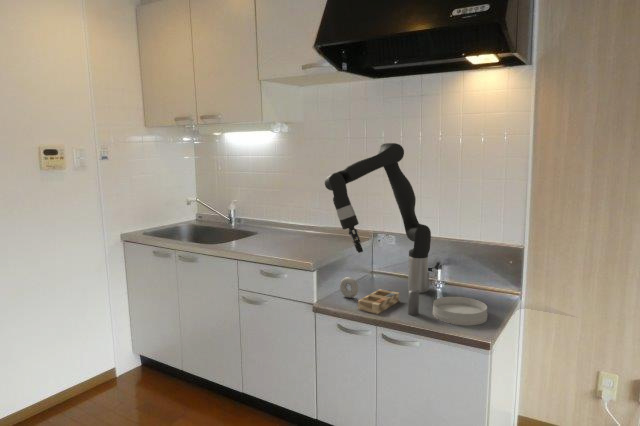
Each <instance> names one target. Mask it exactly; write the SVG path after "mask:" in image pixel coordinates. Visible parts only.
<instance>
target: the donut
mask: <svg viewBox="0 0 640 426" xmlns="http://www.w3.org/2000/svg"><path fill="white" fill-rule="evenodd" d="M348 285H349V286H350V290H349V289H348ZM339 289H340V292H341V294H342V296H344V297H346V298H349V299H353V298H354V297H356V296H357V295H358V292H359V284H358V282H357V281H356V279H354V278H353V277H351V276H346V277H344V278H342V279H341V281H340V284H339Z"/></svg>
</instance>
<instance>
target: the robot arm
mask: <svg viewBox="0 0 640 426" xmlns="http://www.w3.org/2000/svg"><path fill="white" fill-rule="evenodd" d="M404 156H405V150H404V147H403V146H402V145H401V144H400V143H394V142H393V143H392V142H389V143H388V142H387V143H382V144H381V145H380V146H379V149H378V153H377V154H375V155H373V156H371V157H367V158H364V159H361V160H358V161H356V162H354V163H351V164H350V165H348V166H346V167H345V168H343V169H342V170H339V171H337V172H333V173H331V174H329V175H328V176H327V177H326V178H325V180H324V186H325V189H327V190H328V191H332V195H333V197H332V202H333V205H334V207H335V208H334V209H335V210H336V215H337V218H338V221H339V223H340V226H341V228H342V230H347V229H348V232H347V234H348V235H349V238H350V240H351V241H352V243H353V244H354V248H355V250H356V252H358V253H359V254H360V253H363V251H364V249H363V247H362V244H361V240H360V239H361V238H360V235H359V231H358V229H356V228H355V227H356V226H358V225H359V221H358V218H357V215H356V213H355V210H354V207H353V205H352V203H351V200H350V197H349V194H348V189H347V185H348V184H349V183H352V182H354V181H356V180H358V179H360V178H362V177H364V176H366V175H368V174H370V173H372V172H374V171H377V170H379V169H381V168H383V169H384V170H385V173H386V176H387V178H388V181H389V185H390V187H391V190H392V192H393V197H394V198H395V201H396V205H397V208H398V209H399V213H400V215H401V218H402V223H403V227H404V230H405V234H406V237H407V238H408V239H409V240H410V241H411V242H412V243H413V247H412V248H411V249H409V250H408V276H407V277H408V278H407V280H408V281H407V290H408V291H409V290H418V291H419V294H422V293H426V292H428V291H430V271H428V268H429V264H428V263H429V253H430V250H431V239H432V232H431V231H432V230H431V229H430V227H429V226H428V225H425V224H422V223H419V221H418V219H417V218H418V217H417V215H416V209H415V208H416V201H417V200H416V195H415V191H414V189H413V186H412V183H411V182H410V180H409V179H408V178H407V177H406V176H405V174H404V172H403V171H402V169H401V168H400V166H399V162H401V161H402V160H403V158H404Z"/></svg>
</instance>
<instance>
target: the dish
mask: <svg viewBox="0 0 640 426" xmlns="http://www.w3.org/2000/svg"><path fill="white" fill-rule="evenodd" d="M432 315H434V316H433V318H435V317H436V318H435V319H437V320H438V319H439V320H438V321H441V322H443V321H444V322H443V323H446V322H447V324H450V323H451V325H458V326H476V325H481V324H484V323H486V322H487V320H488V305H486V303H484V302H482V301H481V300H477V299H474V298H470V297H465V296H442V297H439V298H436V299H435V300H434V301H433V307H432Z"/></svg>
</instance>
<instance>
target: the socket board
mask: <svg viewBox="0 0 640 426" xmlns="http://www.w3.org/2000/svg"><path fill="white" fill-rule="evenodd" d="M398 302H400V292H396V291H391V290H385V289H381V288H380V289H377V290H375V291H373V292H371V293H370V294H368V295H365V296H364V297H362V298H360V299H358V300H357V310H359V311H363V312H369V313H373V314H377V315H379V314H381V313H382V312H384V311H385V310H387V309H389V308H390V307H392V306H394V305H395V304H397V303H398Z"/></svg>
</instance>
